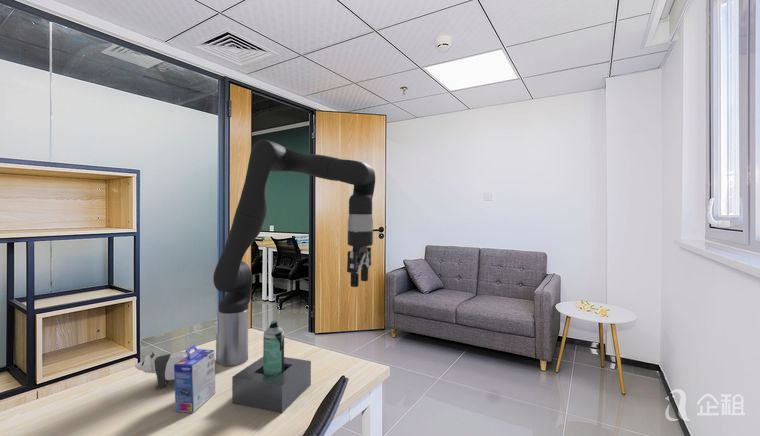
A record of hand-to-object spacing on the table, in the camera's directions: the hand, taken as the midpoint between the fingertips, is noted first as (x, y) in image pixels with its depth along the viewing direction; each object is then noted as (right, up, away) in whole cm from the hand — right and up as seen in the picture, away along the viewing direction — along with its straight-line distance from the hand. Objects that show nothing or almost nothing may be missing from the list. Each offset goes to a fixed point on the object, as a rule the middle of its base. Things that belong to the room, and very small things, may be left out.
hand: (359, 283), depth 103 cm
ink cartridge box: (-43, -29, -12) cm, 53 cm away
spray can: (-24, -29, -7) cm, 38 cm away
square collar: (-24, -29, -7) cm, 38 cm away
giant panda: (-56, -29, -3) cm, 63 cm away
